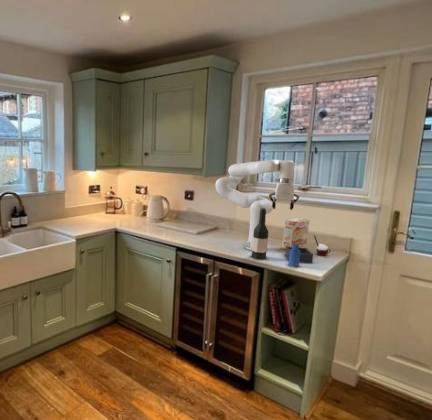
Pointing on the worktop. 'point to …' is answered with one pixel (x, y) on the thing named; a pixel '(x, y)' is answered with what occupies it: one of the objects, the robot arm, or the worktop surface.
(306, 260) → the dark grey tray
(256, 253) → the wine bottle
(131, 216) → the worktop surface
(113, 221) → the worktop surface
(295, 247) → the bottle
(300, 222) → the coffeecake box
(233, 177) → the robot arm
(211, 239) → the worktop surface
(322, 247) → the cocoa
